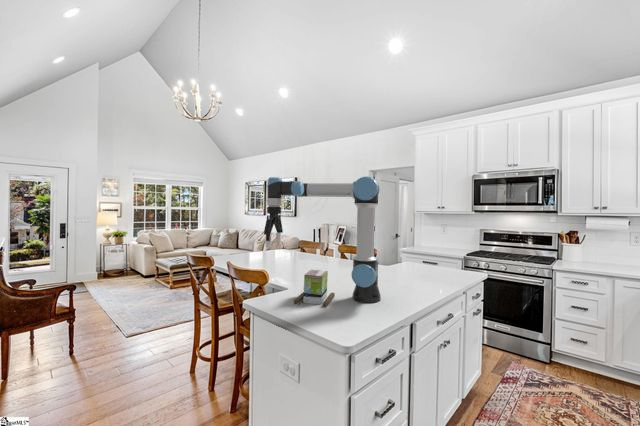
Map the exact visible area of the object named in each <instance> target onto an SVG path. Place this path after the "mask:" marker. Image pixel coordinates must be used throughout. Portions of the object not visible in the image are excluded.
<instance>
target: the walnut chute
mask: <svg viewBox="0 0 640 426" xmlns="http://www.w3.org/2000/svg"><path fill="white" fill-rule="evenodd" d="M335 294H336V293H335V292H330V293H329V294H328V296H327V297H326V298H325V299H324V301H323V302H322V308H326V309H327V308H328V306H329V305H330V304H331V302H332V301H333V299H334V298H335V296H336V295H335ZM303 297H304V291H303V292H301V293H300V294H298V296H297V297H296V298H295V299H293V305H297V306H298V305H299V304H300V303H301V302H302V301H303Z"/></svg>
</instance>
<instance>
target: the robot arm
mask: <svg viewBox="0 0 640 426" xmlns="http://www.w3.org/2000/svg"><path fill="white" fill-rule="evenodd" d="M379 193H380V185H379V184H378V182H377V181H376V179H375V178H374V177H372V176H366V175H364V176H362V177H359V178H358V179H357V180H356V181H353V182H352V183H351V182H350V183H347V182H344V183H343V182H340V183H339V182H337V183H336V182H335V183H334V182H333V183H332V182H331V183H329V182H327V183H321V182H320V183H317V182H316V183H315V182H314V183H313V182H311V183H310V182H309V183H307V182H306V183H303V182H302V181H299V180H294V181H293V180H292V181H291V180H289V181H288V180H287V181H285V180H284V181H283V179H282V177H276V176H273V177H272V176H271V177H268V178H267V196H266V197H267V198H266V202H267V203H266V205H267V208H266V214H268V215H266V221H265V226H264V230H263V235H265V248H272V231H273V229H275V231H276V232H275V245H282V243H281V242H282V233H283V232H284V231H283V225H282V224H283V223H282V215H281V214H282V207H281V206H282V196H289V197H290V196H294V197H298V198H304V197H309V198H310V197H313V198H314V197H316V198H317V197H318V198H319V197H321V198H322V197H323V198H324V197H325V198H326V197H327V198H329V197H330V198H332V197H333V198H352V199H354V205H355V207H356V208H357V213H356V214H357V215H356V253H355V256H354V257H353V259H352V261H353V262H352V270H351V280H352V282H353V283H354V284H355V286H354V289H353V292H352V299H353V300H354V301H356V302H360V303H365V304H366V303H369V304H371V303H372V304H373V303H378V302H380V301H382V300H381V299H382V297H381V292H380V289H379V283H378V282H379V280H378V279H379V258H378V257H376V256H375V213H376V212H375V211H376V207H377V206H378V205H379Z"/></svg>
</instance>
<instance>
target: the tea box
mask: <svg viewBox="0 0 640 426" xmlns="http://www.w3.org/2000/svg"><path fill="white" fill-rule="evenodd" d="M303 278H304V280H303V292H304V297H303V300H302V301H303V302H302V303H303V304H313V305H314V304H315V305H321V304H322V305H323V302H324V301H325V300H326V298H327V297H328V296H327V295H328V278H329V277H328V270H325V269H324V270H323V269H322V270H320V269H310V270H308V271H307V272H306V273H304V277H303Z"/></svg>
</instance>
